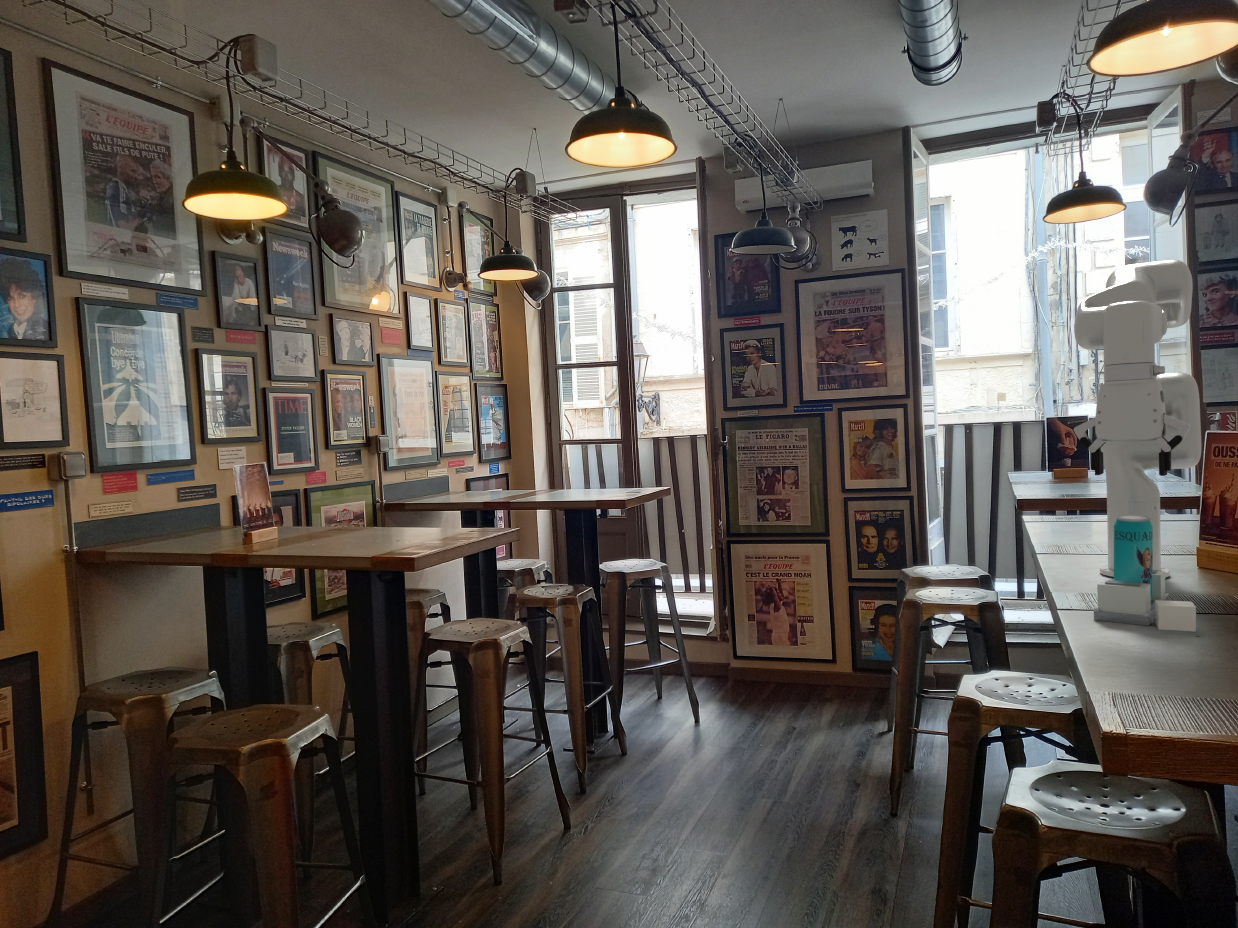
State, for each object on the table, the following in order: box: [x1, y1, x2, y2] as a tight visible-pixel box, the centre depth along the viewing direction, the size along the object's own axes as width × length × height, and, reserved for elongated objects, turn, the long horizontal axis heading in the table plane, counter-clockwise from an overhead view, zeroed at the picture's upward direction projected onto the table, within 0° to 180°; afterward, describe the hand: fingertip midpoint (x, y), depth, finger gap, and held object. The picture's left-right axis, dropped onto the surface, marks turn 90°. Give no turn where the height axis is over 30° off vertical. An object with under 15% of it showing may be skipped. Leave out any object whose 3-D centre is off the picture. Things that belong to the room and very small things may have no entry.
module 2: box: [1151, 570, 1166, 600], centre depth 154 cm, size 4×7×5 cm, turn 49°
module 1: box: [1096, 579, 1151, 615], centre depth 144 cm, size 4×7×5 cm, turn 48°
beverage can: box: [1113, 515, 1153, 597], centre depth 149 cm, size 6×6×15 cm
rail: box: [1093, 592, 1170, 627], centre depth 149 cm, size 18×8×2 cm, turn 139°
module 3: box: [1154, 600, 1197, 632], centre depth 138 cm, size 4×5×4 cm
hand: (1130, 474), depth 148 cm, fingers open, 9 cm apart
